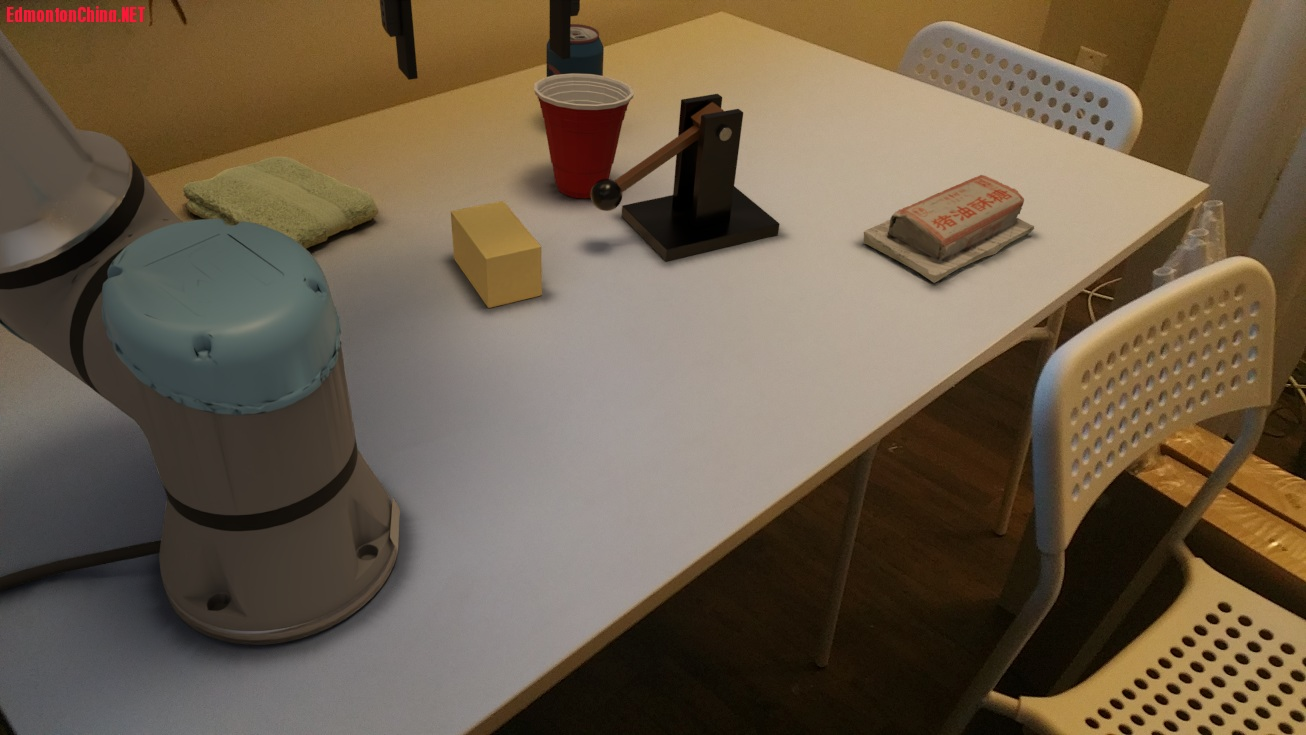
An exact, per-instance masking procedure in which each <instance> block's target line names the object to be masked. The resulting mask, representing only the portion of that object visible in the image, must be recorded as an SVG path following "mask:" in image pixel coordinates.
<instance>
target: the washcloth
mask: <svg viewBox="0 0 1306 735" xmlns="http://www.w3.org/2000/svg"><path fill="white" fill-rule="evenodd" d="M182 188H183V197H185V199H187V203H186V208H187V210H188V211H189V212H190V213H192V214H193V215H195V216H198V217H199V218H202V219H223V220H225V222H226V223H227V225H229V226H233V225H237V224H238V223H240V222H242V221H245V222H251V223H255V224H259V225H263V226H266V227H269V228H271V229H274V230H277V231H279V232H281V233H283V234H285V235H287V236H289V237H290V238H292V239H294V240H295V241H296V242H298V243H299V244H300V245H302V246H303V247H304V248H305V249H306V250H307V249H308V248H310V247H313V246H316V245H318V244H321V243H323V242H327V240H328V238H329V237H331V236H333V235H336V234H338V233H340V232H344V231H349V230H350V229H353V228H354V227H356V226H359V225H362V224H364V223H366V222H369V221H372V219H373V218H376V217H377V216H378V214H379V209H378V207H377V204H376V202H375V200H374V198H373V197H372V195H371V194H370V193H369V192H368V191H367V190H364V189H362V188H359V187H356V186H353V185H348V184H346V183H343V182H342V181H339V180H338V179H336V177H334V176H331V175H328V174H326V173H323V172H321V171H318V170H315V169H313V168H311V167H309V166H307V165H305V164H303V163H302V162H300V161H298V160H296V159H294V158H291V157H289V156H270V157H266V158H263V159H261V160H259V161H255V162H252V163H247V164H243V165H238V166H234V167H230V168H227V169H226V168H225V169H224V170H221V171H219V172H218V173H217V174H216V175H214V176H213V177H211V178H208V179H203V180H197V181H190V182H187V183H186V184H184V186H183V187H182Z"/></svg>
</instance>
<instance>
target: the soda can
mask: <svg viewBox="0 0 1306 735" xmlns="http://www.w3.org/2000/svg"><path fill="white" fill-rule="evenodd" d="M604 51H605V50H604V45H603V42H602V41H601V38H600V32H599V30H598V29H597V28H595V27H594V26H593V27H592V26H590V25H585V24H581V23H571V30H570V58H569V59H561V58H560V57H559V56H558V55H557V54H555V53H554V52H553V51H552V50H551V49H550V38H549V39H548V40H547V43H546V77H550V76H553V75H561V74H572V73H573V74H593V75H599V76H604V55H605V54H604Z"/></svg>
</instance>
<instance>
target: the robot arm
mask: <svg viewBox="0 0 1306 735" xmlns="http://www.w3.org/2000/svg"><path fill="white" fill-rule="evenodd" d="M580 2H581V0H549V39H550V49H551V50H552V51H553V52H554V53H555V54H557V55H558V56H559V57H560V58H561V59H569V58H570V30H571V24H572V23H571V22H572V21H571V20H572V18H571V17H577V16H579V14H580V11H581V10H580V9H581V3H580ZM379 9H380V17H381V18H380V19H381V26H382V28H383V29H384V32H385V33H386V34H387V35H388V36H389V37H390V38H395V47H396V57H397V67H398V69H399V70H400V71H401V73H402V74H403V75H404V76H405V77H406V79H407V80H409V81H410V80H417V79H418V78H419V77H418V65H417V55H416V54H417V53H416V43H415V30H414V20H413V7H412V0H379ZM328 282H329V281H328V280H327V277H326V274H325V272H324V270H323V269H322V267H321V265H320V264H319V261H318V260H317V259H316V258H315V257H314V256H313V255H312V253H311V252H310V251H309V250H308V249H307V248H306V249H305V248H304V247H303V246H302V245H300V244H299V243H298V242H296V241H295V240H294V239H292V238H290V237H289V236H287V235H285V234H283V233H281V232H279V231H277V230H274V229H271V228H269V227H266V226H263V225H259V224H255V223H251V222H245V221H242V222H240V223H238V224H237V225H233V226H229V225H227V223H226V222H225V220H223V219H206V218H202V219H194V220H193V219H192V220H187V221H183V220H182V219H181V218H180V217H178V215H177V214H175V212H174V211H173V210H171V208H170V207H169V205H167V203H166V202H165V201H164V200H163V198H162V197H161V195H160V194H159V193H158V191H157V190H156V189H155V187H154V186H153V184H152V183H151V181H150V180H149V179H148V178H147V177H146V175H145V174H144V172H143V171H142V170H141V168H140V167H139V166H138V165H137V163H136V162H135V160H134V159H133V158H132V156H131V155H130V154H129V153H128V151H127V150H126V148H125V147H124V146H123V144H121V142H119V141H118V140H117V139H116V138H113V137H112V136H109V135H108V134H104V133H101V132H97V131H93V130H85V129H78V128H77V127H76V126H75V125H74V123H73V122H72V121H71V119H70V118H69V117H68V115H67V114H66V112H64V111H63V109H62V108H61V107H60V105H59V104H58V102H57V101H56V100H55V99H54V97H53V96H52V95H51V93H50V92H49V91H48V90H47V88H46V87H45V86H44V84H43V83H42V82H41V80H40V79H39V78H38V77H37V75H36V73H35V72H34V71H33V70H32V69H31V67H30V66H29V64H28V63H27V62H26V60H24V58H23V57H22V56H21V54H20V53H19V52H18V50H17V49H16V48H15V47H14V45H13V44H12V43H11V41H10V39H9V38H7V36H6V34H5V33H4V32H3V31H2V30H1V29H0V326H1V327H2V328H4V329H5V330H6V331H7V332H9V333H10V334H12V335H13V336H15V337H17V338H18V339H20V340H21V341H22V342H23V341H24V342H25V343H27V344H30V345H31V346H32V347H34V348H35V349H37V350H38V351H40V352H41V353H42V354H44V355H45V356H47V357H48V358H49V359H51V360H52V361H53V362H55V363H56V364H57V365H59V366H60V367H61V368H63V369H64V370H65V371H67V372H68V373H70V374H72V375H73V376H74V377H75V378H77V379H78V380H79V381H81V382H82V383H83V384H85V385H87V387H89V388H91V390H93V391H94V392H96V393H97V394H98V395H100V397H102V398H103V399H105V400H106V401H107V402H109V403H110V404H112V405H113V406H114V407H116V408H117V409H118V410H120V411H121V412H123V413H124V414H125V415H126V416H128V417H129V418H130V419H132V420H133V421H134V422H135V423H136V425H137V426H138V427H139V429H140V430H141V431H142V433H143V435H144V437H145V439H146V440H147V443H148V446H149V450H150V452H151V455H152V458H153V461H154V464H155V467H156V470H157V473H158V475H159V478H160V480H161V483H162V486H163V489H164V492H165V495H166V502H165V509H164V517H163V523H162V524H163V525H162V531H161V537H160V538H161V539H157V540H153V541H147V542H142V543H136V544H133V545H127V546H122V547H117V548H113V549H107V550H103V551H98V552H93V553H88V554H83V555H77V556H74V557H68V558H64V559H59V560H55V561H51V562H47V563H43V564H39V565H35V566H33V567H32V566H31V567H28V568H25V569H22V570H18V571H15V572H12V573H8V574H6V575H1V576H0V592H1V591H5V590H8V589H11V588H14V587H17V586H20V585H24V584H27V583H30V582H31V583H32V582H34V581H38V580H40V579H45V578H48V577H52V576H56V575H60V574H65V573H69V572H73V571H78V570H82V569H88V568H92V567H98V566H103V565H107V564H108V565H109V564H113V563H117V562H122V561H127V560H132V559H137V558H142V557H147V556H152V555H156V554H159V558H158V560H159V568H160V578H161V582H162V584H163V588H164V590H165V594H166V596H167V598H168V600H169V603H170V606H171V608H172V609H173V610H174V611H175V613H176V614H177V616H179V618H180V619H181V620H182V621H183V622H184V623H185V624H187V625H188V626H189V627H191V628H192V629H194V630H195V631H197V632H198V633H200V634H203V635H205V636H207V637H209V638H212V639H214V640H218V641H222V642H226V643H232V644H238V645H246V646H247V645H249V646H258V645H259V646H261V645H262V646H263V645H276V644H281V643H282V644H283V643H287V642H293V641H296V640H301V639H304V638H307V637H309V636H313V635H315V634H318V633H320V632H323V631H326V630H327V629H329V628H332V627H334V626H335V625H337V624H339V623H341V622H343V621H344V620H346V619H347V618H349V617H351V616H352V615H354V614H355V613H356V612H357V611H359V610H360V609H362V607H364V606H365V605H366V604H367V603H369V601H370V600H371V599H373V598H374V596H375V595H376V594H377V593H378V592H379V591H380V589H381V588H382V587H383V586H384V585H385V583H386V581H387V580H388V578H389V577H390V574H391V573H392V571H393V568H394V567H395V563H396V561H397V560H396V559H397V558H398V552H399V547H400V535H399V534H400V533H399V531H400V518H401V517H400V516H401V515H400V514H401V509H400V507H399V505H398V503H397V502H396V499H395V498H394V497H392V501H391V497H390V495H389V494H388V492H387V490H386V488H385V487H384V485H383V484H382V483H381V481H380V480H379V478H378V477H377V475H376V474H375V472H374V471H373V469H372V468H371V467H370V465H369V464H368V462H367V461H366V459H365V458H364V456H363V455H362V454H361V452H360V450H359V449H358V445H357V444H358V443H357V439H356V430H355V425H354V419H353V412H352V407H351V398H350V394H349V388H348V380H347V374H346V369H345V362H344V357H343V355H344V354H343V348H342V341H341V335H342V325H341V319H340V316H339V313H338V310H337V307H336V305H335V302H334V300H333V295H332V293H331V289H330V285H329V283H328Z"/></svg>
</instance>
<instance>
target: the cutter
mask: <svg viewBox="0 0 1306 735" xmlns="http://www.w3.org/2000/svg"><path fill="white" fill-rule="evenodd" d="M711 102H713V103H715V104H716V105H717V106H719V107H720V108H721V109H722V104H723V96H722V95H720V94H719V93H713V94H712V93H711V94H708V95H701V96H695V97H694V96H693V97H688V98H682V99H680V109H679V120H678V131H677V132H678V133H677V137H678V136H679V135H681V134H682V133H684V132H685V131H686V130H688V129H689V128H691V127H692V126H694V124H693V122H692V120H691V116H693V115H694V114H695V113H697V112H698V111H700V110H701V109H703V108H704V107H706V106H707V105H708V104H710V103H711ZM743 119H744V111H742V110H741V109H740V108H735V109H728V110H724V111H722V112H716V113H710V114H704V115H701V123H700V133H699V139H698V140H697V141H695V142H694V143H692V144H691V145H690V146H688V147H687V148H685V149H684V150H682V151H681V152H680V153H678V154H677V155H675V157H676V158H675V167H674V179H673V180H674V181H673V191H672V194H671V195H665V196H662V197H661V196H660V197H657V198H651V199H646V200H642V201H637V202H633V203H628V204H623V205H621V217H622V218H623V220H624V221H625V222H626V223H627V224H628V225H629V226H630V227H631V228H632V229H633V230H634V231H635V232H636V233H637V234H638V235H639V236H640V237H641V238H642V239H643V240H644V241H645V242H646V243H647V244H648V245H649V246H650V247H651V248H652V249H653V250H655V252H656V253H657V254H658V255H659V256H660V257H661V258H662V259H663V260H664V261H665V262H669V261H674V260H677V259H682V258H687V257H690V256H695V255H698V254H702V253H707V252H711V251H715V250H719V249H724V248H728V247H733V246H736V245H740V244H741V245H742V244H744V243H749V242H754V241H757V240H762V239H766V238H769V237H774V236H778V235H779V231H780V225H781V224H780V223H779V222H778V221H777V219H775V218H773V217H772V216H771V215H770V214H768V212H767V211H765V210H764V209H762V207H760V206H759V205H758V204H757V203H756V202H754V201H753V200H752V199H751V198H749V197H748V196H747V195H746V194H744V193H743V192H742V191H741V190H740V189H738V188H737V187H736V186H735V183H736V175H737V166H738V160H739V153H740V152H739V151H740V143H741V134H742V128H743Z"/></svg>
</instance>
